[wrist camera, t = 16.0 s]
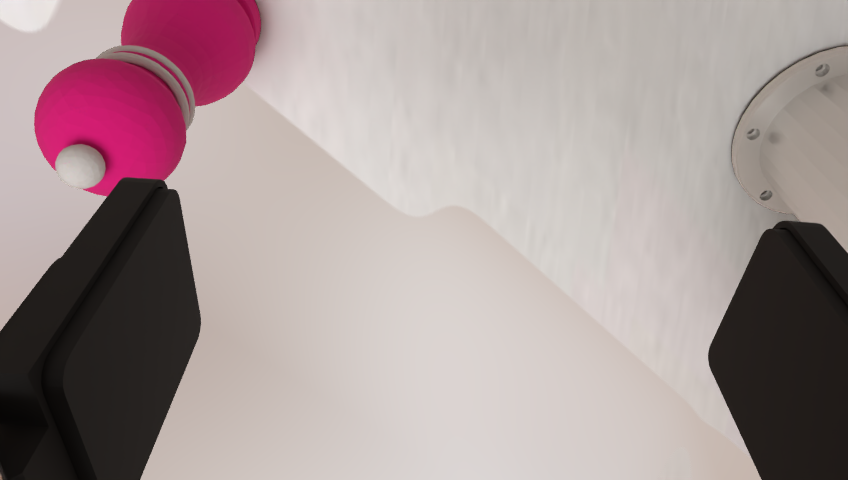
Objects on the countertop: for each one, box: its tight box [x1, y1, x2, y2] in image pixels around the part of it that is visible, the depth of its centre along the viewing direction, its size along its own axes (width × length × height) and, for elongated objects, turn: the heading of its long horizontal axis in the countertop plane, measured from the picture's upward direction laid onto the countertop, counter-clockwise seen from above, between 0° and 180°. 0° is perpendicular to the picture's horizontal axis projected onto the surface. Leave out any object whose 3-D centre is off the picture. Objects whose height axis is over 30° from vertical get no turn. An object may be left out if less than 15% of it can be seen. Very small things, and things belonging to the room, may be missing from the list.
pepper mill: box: [34, 0, 261, 196], centre depth 33 cm, size 7×7×20 cm
